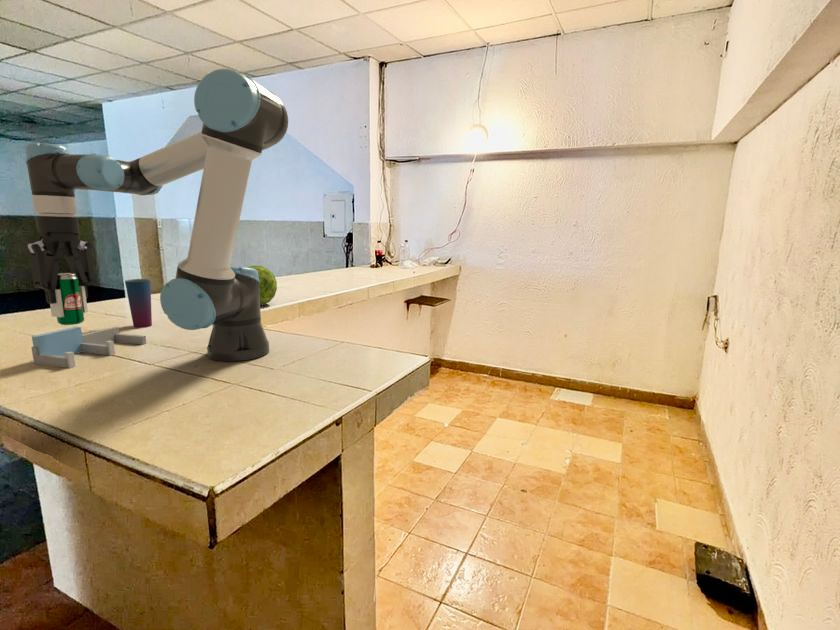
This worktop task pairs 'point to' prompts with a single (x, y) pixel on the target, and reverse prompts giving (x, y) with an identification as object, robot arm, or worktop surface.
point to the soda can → (70, 299)
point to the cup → (140, 301)
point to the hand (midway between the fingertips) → (70, 314)
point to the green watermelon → (266, 284)
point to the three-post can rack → (77, 345)
